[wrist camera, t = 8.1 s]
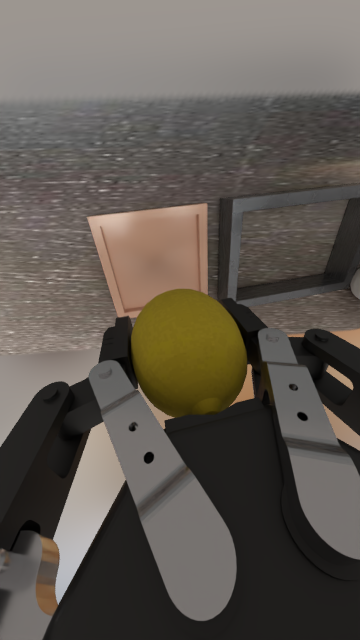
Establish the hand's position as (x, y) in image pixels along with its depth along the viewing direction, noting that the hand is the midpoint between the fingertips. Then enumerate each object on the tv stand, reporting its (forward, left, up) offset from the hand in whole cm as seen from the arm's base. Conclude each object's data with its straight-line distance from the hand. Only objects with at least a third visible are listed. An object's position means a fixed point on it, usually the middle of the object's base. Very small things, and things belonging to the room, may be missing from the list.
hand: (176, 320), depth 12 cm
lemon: (0, 0, -2) cm, 2 cm away
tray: (0, 0, -11) cm, 11 cm away
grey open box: (-15, 0, -11) cm, 19 cm away
